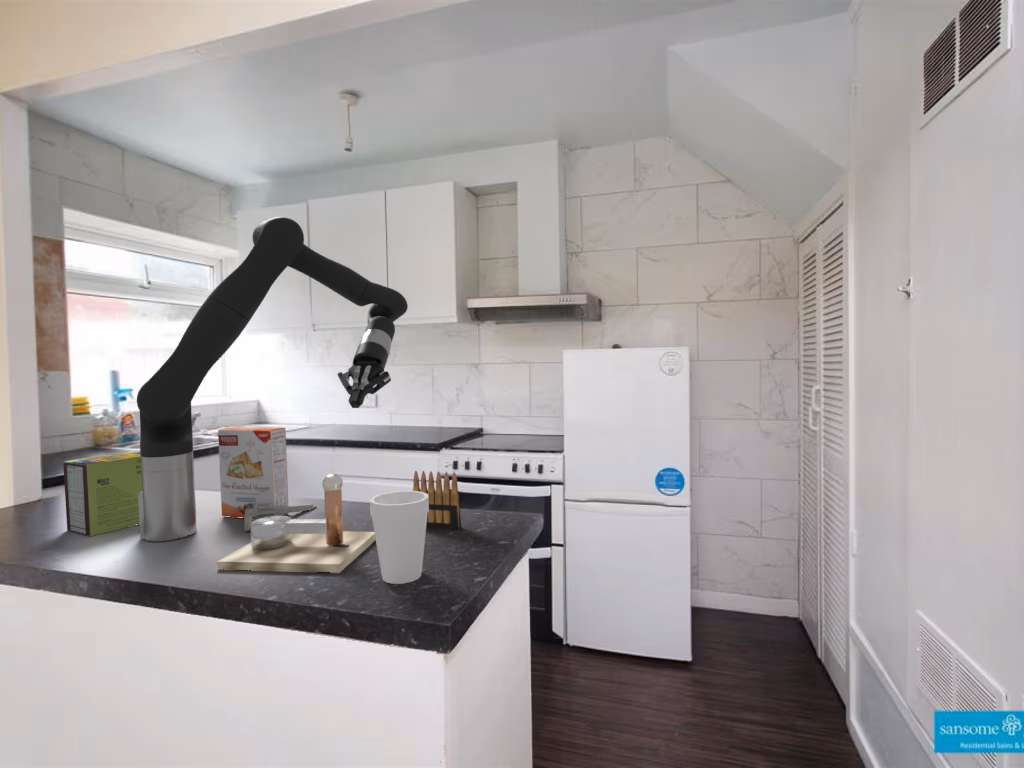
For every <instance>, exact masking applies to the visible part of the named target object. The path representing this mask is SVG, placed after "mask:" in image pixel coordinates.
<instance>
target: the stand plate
mask: <svg viewBox="0 0 1024 768" xmlns="http://www.w3.org/2000/svg"><path fill="white" fill-rule="evenodd" d="M374 542H376V538H375V532H374V531H352V530H351V531H346V530H343V542H342V543H340V544H337V545H327V544H326V534H292V541H291V542H290V543H288V544H286V545H284V546H280V547H276V548H270V549H256V548H253V547H252V546H251V542H249V543H248V544H246V545H244V546H242V547H240V548H239V549H236V550H235V551H233V552H232V553H230V554H227V556H224V557H223V558H221V559H219V560H217V562H216V564H217V565H216V566H217V571H236V570H248V571H247V572H278V573H279V572H280V573H281V572H282V573H287V572H288V573H317V572H330V573H329V574H340V573H341V572H342V571H344V569H345V568H347V567H348V566H349V565H350V564H351V563H352V562H354V561H355V560H356V559H357V558H358V556H359V557H360V555H361V554H362V553H363V552H364V551H366V550H367V549H368V548H369V547H370V546H371V545H372V544H373V543H374ZM220 569H221V570H220ZM223 569H224V570H223ZM249 570H251V571H249Z"/></svg>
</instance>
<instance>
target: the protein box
mask: <svg viewBox="0 0 1024 768" xmlns="http://www.w3.org/2000/svg"><path fill="white" fill-rule="evenodd" d="M62 464H63V465H62V467H63V480H64V482H63V483H64V497H65V498H64V499H65V500H64V501H65V515H66V516H65V517H66V519H65V520H66V531H68V532H71V533H76V534H79V535H84V536H87V537H94V536H97V535H101V534H106V533H110V532H114V531H117V530H121V528H122V529H125V527H126V528H129V526H130V527H133V525H134V526H137V525H136V524H138V525H139V507H138V493H139V492H142V474H141V471H142V470H141V455H140V450H137V449H136V450H132V451H125V452H119V453H109V454H104V455H97V456H91V457H85V458H83V457H82V458H77V459H70V460H65V461H63V462H62Z"/></svg>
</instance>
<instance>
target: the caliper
mask: <svg viewBox="0 0 1024 768" xmlns="http://www.w3.org/2000/svg"><path fill="white" fill-rule="evenodd" d="M257 504H258V503H249V507H248V508H246V512H245V517H244V532H246V531H250V532H251V526H250V524H251V522H253V521H255V520H258V519H261V518H265V517H272V516H274V515H275V514H283V513H288V514H290V513H299V512H300V513H301V512H308V511H307V510H309V509H312V510H313V509H316V508H315V507H317V505H314V504H313V503H308V504H305V503H304V504H298V505H297V504H295V505H288V506H285V507H275V506H264V507H257ZM309 511H310V510H309ZM253 517H254V518H253Z"/></svg>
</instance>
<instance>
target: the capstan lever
mask: <svg viewBox="0 0 1024 768" xmlns="http://www.w3.org/2000/svg"><path fill="white" fill-rule="evenodd" d="M343 480H344V479H343V478H342V477H341V476H340V475H339V474H336V473H331V474H328V475H326V476H324V478H323V480H322V488H323V491H324V494H323V495H324V513H325V514H324V516H325V518H311V519H310V518H305V519H303V518H302V519H301V518H299V519H297V518H294V519H293V518H292V517H291V516H288V515H284V516H272V517H265V518H261V519H258V520H255V521H253V520H252V522H251V524H250V526H251V531H250V543H251V546H252V547H253V548H256V549H270V548H276V547H280V546H284V545H286V544H288V543H290V542H291V541H292V534H326V544H327V545H337V544H340V543H342V542H343V531H344V527H343V525H344V523H343V522H344V520H343V497H342V496H343V495H342V494H343V493H342V492H343V491H342V488H343V485H344V481H343Z"/></svg>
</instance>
